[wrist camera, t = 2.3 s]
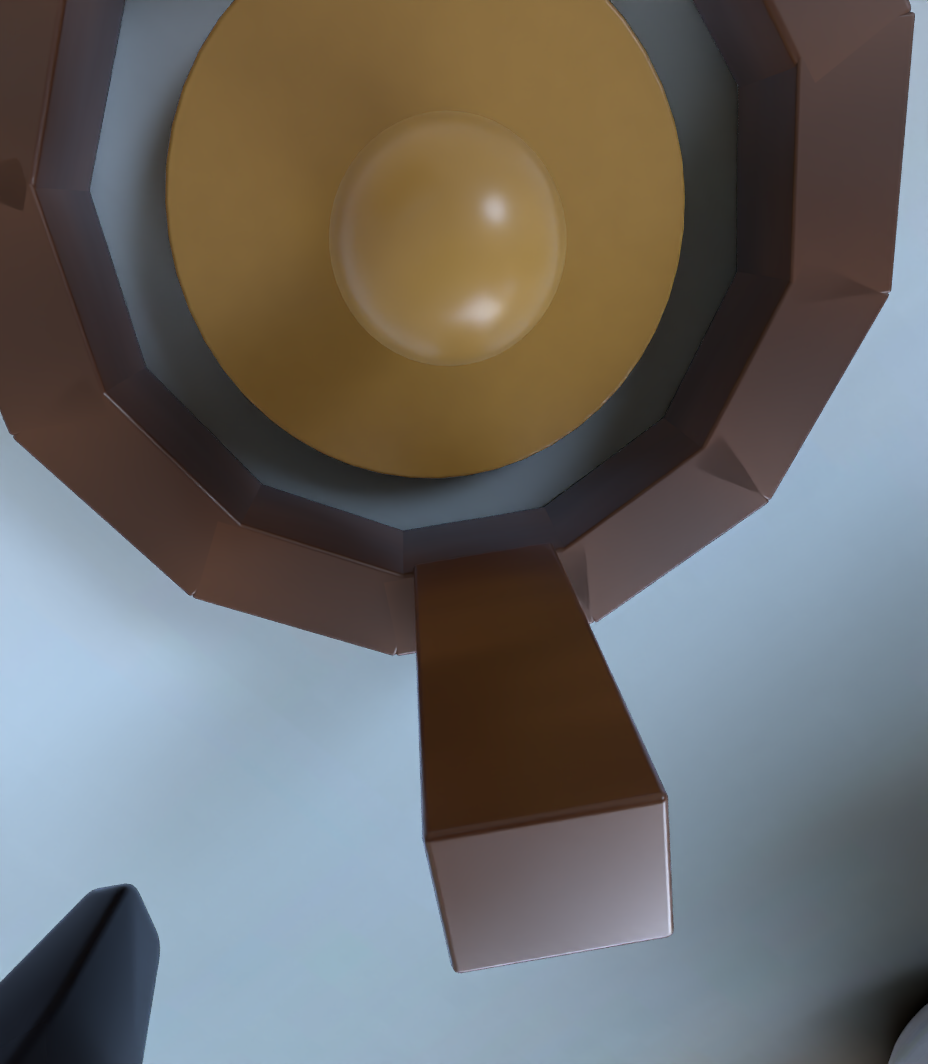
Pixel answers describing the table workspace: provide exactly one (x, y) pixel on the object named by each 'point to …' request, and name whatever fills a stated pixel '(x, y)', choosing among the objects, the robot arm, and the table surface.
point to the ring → (496, 541)
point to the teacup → (913, 1041)
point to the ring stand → (425, 220)
